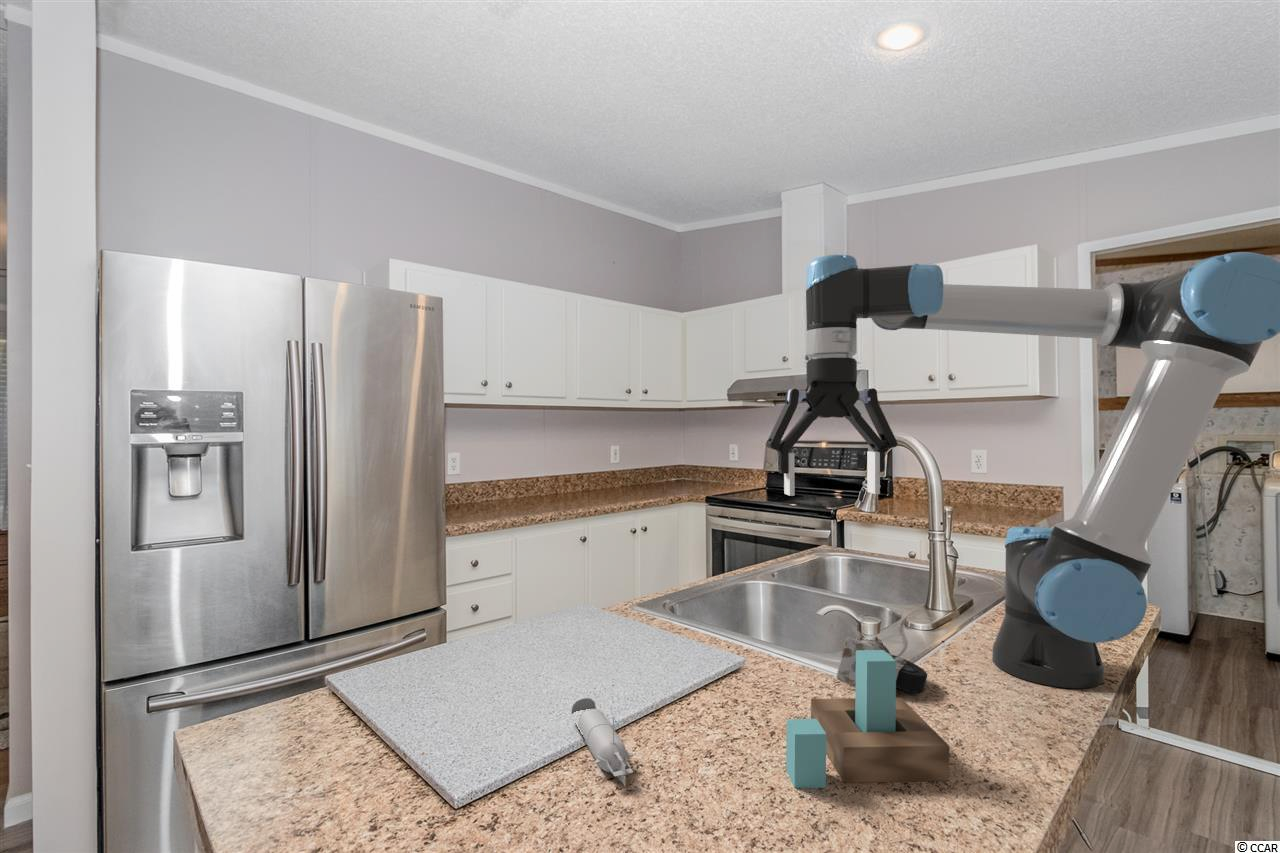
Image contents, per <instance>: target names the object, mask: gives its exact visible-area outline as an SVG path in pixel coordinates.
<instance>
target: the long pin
mask: <svg viewBox="0 0 1280 853" xmlns="http://www.w3.org/2000/svg"><path fill="white" fill-rule="evenodd" d="M854 695H855V697H854V698H855V725H856V726H857V727H858V729H859V730H860V731H861V732H895V723H896V698H897V687H896V660H894V659H893V658H892V657H891V656H890V655H889V654H888V653H886V652H885V651H884V650H856V688H855V694H854Z"/></svg>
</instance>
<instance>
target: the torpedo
mask: <svg viewBox="0 0 1280 853" xmlns="http://www.w3.org/2000/svg"><path fill="white" fill-rule="evenodd" d="M586 709H590V710H587V711H584V712H583V713H582V714H581V715H580V717H579V721H578V726H579V728H580V730H581V732H582V733H583V736H584V738H585V740H584V743H585V744H586V745H587V747H588V749H589V751H590V752H591V754H592V755H593V757H594V759H595V760H594V762H593V763H594V764H598V766H599V768H601V769H602V770H603V771H604V772H606V773H611V774H612V775H613V777H617V778H618V779H619V781H621V783H623V785H624V787H626V775H629V774H632V773H634V771H633V769H632V766H631V765H630V763H629V762H628V760H629V758H628V757H633V756H634V753H631V752H630V753H629V752H628V750H626V745H625V744H624V741H622V739H621V737H620V736H619V735H618V733H617V732H616V730H615V719H616V717H615V716H612V717H611V719H612V724H611V723H610V721H609V720H608V718H607V717H606V716H605V714H604V712H603V711H601V710H600V709H599V708H597V705H596V702H595V700H593V698H591V697H587V696H581V697H578V698H576V699H575V700H574V701H573V702H572V703H571V710H570V711H571V712H570V715H571V714H573V713H574V712H576V711H580V710H586ZM627 767H628V768H627Z"/></svg>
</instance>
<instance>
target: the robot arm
mask: <svg viewBox="0 0 1280 853" xmlns="http://www.w3.org/2000/svg"><path fill="white" fill-rule="evenodd" d="M805 285H806V286H805V287H806V288H805V307H806V308H805V310H806V311H805V314H806V316H805V317H806V349H805V350H806V351H805V352H806V356H807V357H809V359H808V360H807V362H806V389H805V390H799V389H797V388H792V389H791V388H790V389H787V391H786V394H785V403H784V405H783V408H782V409H781V412H780V414H779V416H778V418H777V419H776V421H775V424H774V426H773V428H772V431H771V432H770V434H769V436H768V439H767V440H766V445H765V446H766V447H767V448H768V449H771V450H773V451H775V452H776V453H777V457H778V458H777V460H778V461H777V462H778V464H777V465H778V468H777V469H778V471H779V474H783V491H784V495H787V496H789V497H790V496H791V497H793V496H795V487H796V486H795V485H796V484H795V474H796V472H795V453H794V452H790V451H791V450H792V448H793V447H794V445H796V444H797V442H798V441H799V440H800V439H801V437H802V436H803V435H804V433H805V432H806V431H807V430H808V429H809V428H810V426H811V425H812V424H813V422H814V421H815V420H817V419H818V418H820V419H821V418H823V419H824V418H825V419H826V418H837V419H838V418H841V419H842V418H844V419H846V420H847V421H849V423H850V424H851V425H852V427H853V428H854V429H855V430H856V431H857V432H858V433H859V434H860V436H861V437H862V439H863V440H864V441H865V442H866V443H867V444H868V446H869V447H870V448H871V449H872V450H871V451H870V450H868V451H867V452H866V453H867V456H866V459H867V464H866V465H867V466H866V467H867V472H866V473H867V475H866V476H867V478H866V479H867V481H866V485H867V486H866V488H867V490H866V491H867V493H871V494H873V495H880V494H881V490H880V489H881V486H880V485H881V481H880V480H881V473H883V472H885V469H886V452H888V451H889V449H891V448H892V449H893V448H896V447H897V446H898V441H897V439H896V436H895V434H894V433H893V430H892V428H891V426H890V425H889V422H888V420H887V418H886V416H885V413H884V412H883V410H882V407H881V405H880V403H879V399H878V391H877V389H876V388H874V387H873V388H865V389H862V390H858V387H857V381H858V380H857V379H858V377H857V376H858V371H857V370H858V366H857V365H858V364H857V363H858V362H857V361H858V360H856V358H854V357H853V356H856V354H857V353H858V352H857V351H858V349H857V346H858V343H857V341H858V340H857V338H858V337H857V333H858V332H857V330H858V328H857V326H858V324H857V321H858V319H871V321H872V322H873V323H874V324H875V326H877V327H878V328H880V329H882V330H886V331H898V330H901V329H909V330H911V329H912V330H936V331H953V332H954V331H956V332H974V333H989V334H990V333H994V334H1007V335H1008V334H1011V335H1025V336H1026V335H1028V336H1043V337H1065V338H1079V339H1080V338H1081V339H1094V340H1095V342H1097V344H1099V345H1100V346H1105V347H1106V346H1107V347H1118V348H1128V349H1139V350H1141V351H1142V353H1143V354H1144V356H1145V357H1146V363H1145V366H1144V368H1143V369H1142V372H1141V373H1140V375H1139V377H1138V380H1137V381H1136V382H1137V383H1136V384H1135V386H1134V389H1133V390H1132V392H1131V395H1130V397H1129V399H1128V401H1127V404H1126V405H1125V407H1124V409H1123V412H1122V414H1121V415H1120V418H1119V420H1118V422H1117V425H1116V426H1115V428H1114V430H1113V433H1112V435H1110V439H1109V441H1108V443H1107V445H1106V447H1105V449H1104V452H1103V454H1102V456H1101V458H1100V459H1099V461H1098V463H1097V466H1096V468H1095V470H1094V472H1093V474H1092V477H1091V478H1090V481H1089V483H1088V485H1087V487H1086V489H1085V490H1084V493H1083V495H1082V497H1081V499H1080V501H1079V504H1078V506H1077V508H1076V510H1075V512H1074V514H1073V516H1072V517H1071V518H1069V519H1066V520H1064V521H1060V522H1057V523H1055V525H1054V527H1040V526H1039V527H1038V526H1012V527H1010V528H1009V529H1008V530H1007V532H1006V537H1005V538H1006V539H1005V542H1004V548H1005V577H1004V578H1005V585H1004V586H1005V587H1004V588H1005V591H1004V592H1005V593H1004V594H1005V595H1004V601H1005V602H1004V603H1005V605H1004V617H1003V620H1002V621H1001V622H1002V623H1001V625H1000V627H999V630H998V633H997V635H996V638H995V641H994V642H993V644H992V659H991V660H992V662H993V664H994V666H996V667H997V668H998V669H1000V670H1002V671H1003V672H1006V673H1008V674H1010V675H1011V676H1015V677H1016V678H1020V679H1022V680H1025V681H1028V682H1031V683H1032V682H1033V683H1037V684H1040V685H1044V686H1049V687H1057V688H1066V689H1067V688H1068V689H1088V688H1094V686H1095V687H1097V686H1100V685H1102V684H1103V682H1104V676H1105V674H1104V671H1105V670H1104V668H1105V667H1104V663H1103V660H1102V657H1101V655H1100V652H1099V649H1098V646H1097V643H1099V644H1101V643H1102V644H1103V643H1106V642H1107V643H1109V642H1113V641H1117V640H1121V639H1122V638H1125V637H1126V636H1128V635H1130V634H1132V633H1133V632H1134V631H1135V630H1136V629H1138V628H1139V626H1140V625H1141V623H1142V621H1143V620H1144V618H1145V617H1146V613H1147V608H1148V602H1147V601H1148V599H1147V595H1146V593H1145V589H1144V587H1143V585H1142V584H1143V581H1144V579H1145V577H1146V576H1147V573H1148V572H1149V570H1150V568H1151V565H1152V563H1153V561H1152V559H1151V557H1150V555H1149V553H1148V551H1147V549H1146V543H1147V540H1148V539H1149V537H1150V535H1151V533H1152V531H1153V528H1154V527H1155V524H1156V522H1157V521H1158V519H1159V516H1160V514H1161V512H1162V510H1163V508H1164V507H1165V505H1166V502H1167V500H1168V498H1169V496H1170V495H1171V492H1172V490H1173V488H1174V486H1175V485H1176V482H1177V480H1178V478H1179V476H1180V474H1181V472H1182V470H1183V469H1184V466H1185V464H1186V462H1187V460H1188V458H1189V456H1190V454H1191V452H1192V450H1193V448H1194V447H1195V444H1196V442H1197V440H1198V438H1199V436H1200V434H1201V432H1202V430H1203V428H1204V426H1205V424H1206V422H1207V419H1208V418H1209V416H1210V414H1211V411H1212V409H1213V407H1214V406H1215V404H1216V402H1217V400H1218V397H1219V395H1220V393H1221V392H1222V389H1223V388H1224V385H1225V384H1226V382H1227V381H1228V380H1229V379H1231V378H1234V377H1237V376H1239V375H1242V374H1244V373H1247V372H1248V371H1249V369H1250V367H1251V365H1252V364H1253V362H1254V359H1255V358H1256V356H1257V354H1258V352H1259V350H1260V348H1261V346H1262V344H1263V343H1264V341H1267V340H1270V339H1273V338H1274V337H1276V336H1277V335H1278V334H1280V261H1278V260H1277V259H1275V258H1273V257H1271V256H1269V255H1266V254H1262V253H1257V252H1251V251H1237V252H1229V253H1225V254H1222V255H1214V256H1211V257H1210V256H1209V257H1208V258H1205V259H1203V260H1201V261H1199V262H1197V263H1196V264H1195V265H1193V266H1191V267H1188V268H1185V269H1183V270H1181V271H1179V272H1176V273H1173V274H1171V275H1168V276H1165V277H1162V278H1158V279H1153V280H1147V281H1141V282H1134V283H1132V282H1131V283H1121V282H1120V283H1119V282H1113V283H1110V284H1109V285H1108V286H1106V287H1104V288H1103V289H1099V288H1097V289H1096V288H1069V287H1068V288H1066V287H1065V288H1064V287H1063V288H1062V287H1039V286H1038V287H1037V286H1033V287H1032V286H1011V285H1010V286H1007V285H1006V286H1004V285H979V284H976V285H975V284H973V285H972V284H949V283H948V284H947V283H944V275H943V270H942V268H941V267H940V266H939V265H938V264H933V263H932V264H919V263H914V264H911V265H910V264H909V265H896V266H884V267H873V268H858V263H857V259H856V258H855V257H854V256H852V255H849V254H829V255H823V256H819V257H816V258H814V259H813V260H811V261H810V262H809V263H808V264H807V269H806V284H805ZM803 399H804V401H805V402H806V403H807V404H808V407H807V408H806V410H805V411H804V412H803V413H802V416H801V417H800V418H799V420H798V421H796V423H795V425H794V426H793V427H792V428H791V429H790V431H789V432H788V433H787V434H786V436H785V437H784V435H785V433H786V431H787V428H788V426H789V424H790V422H791V421H792V418H793V416H794V414H795V411H796V410H797V407H798V404H801V403H802V401H803ZM858 400H860V401H861V403H862V404H863V405H864V407H865V410H866V412H867V415H868V416H869V418H870V420H871V422H872V425H873V426H874V428H875V430H874V429H873V428H872V427H871V425H869V423H868V422H867V421H866V420H865V418H864V417H863V416H862V413H861V412H860V411H859V409H858V408H857V407H856V406H855V404H856V403H857V401H858ZM875 431H876V432H875ZM783 437H784V438H783Z"/></svg>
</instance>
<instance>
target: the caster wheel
mask: <svg viewBox="0 0 1280 853" xmlns="http://www.w3.org/2000/svg"><path fill="white" fill-rule="evenodd" d="M856 650H884V651H885V652H886V653H888V654H889V655H890V656H891V657H892V658H893V659H894V660H896V689H897V688H898V689H900V690H904V691H907V692H910V693H911V692H912V693H913V692H914V693H921V692H923V691H924V688H925V685H926V683H927V679H928V673H927V672H926V671H925V670H924V669H923V668H922V667H920V666H919V665H917V664H916V663H914V662H912V661H909V660H907V659H905V658H903V657H900V656H897V655H893V654H891V652H890V651H889V649H888V648H887V647H886V646H885V644H883V642H880V641H878V640H875V639H863V640H858V639H854V638H852V637H851V636H848V637H846V639H845V644H844V648H843V651H842V655H841V658H840V661H839V665H838V669H837V673H836V680H838V681H840V682H842V683H844V684H847V685H848V686H851V687H854V688H855V689H856Z"/></svg>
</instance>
